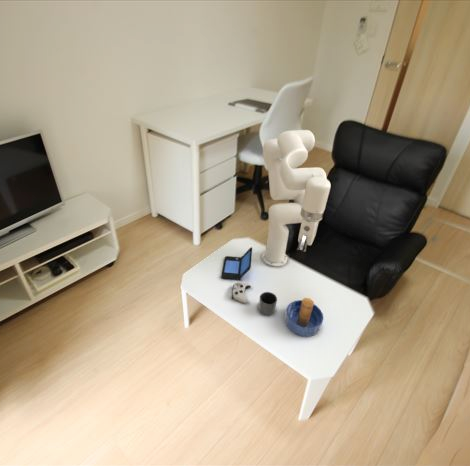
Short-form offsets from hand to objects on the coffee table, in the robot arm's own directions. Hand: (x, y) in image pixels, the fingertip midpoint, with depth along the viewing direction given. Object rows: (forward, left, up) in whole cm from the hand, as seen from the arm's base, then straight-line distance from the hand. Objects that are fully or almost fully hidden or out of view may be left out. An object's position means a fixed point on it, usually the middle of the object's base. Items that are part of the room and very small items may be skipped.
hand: (303, 249), depth 119 cm
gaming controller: (+6, -21, -29) cm, 37 cm away
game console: (-8, -29, -29) cm, 42 cm away
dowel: (+9, +7, -29) cm, 31 cm away
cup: (+9, -8, -29) cm, 32 cm away
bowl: (+9, +7, -29) cm, 31 cm away
